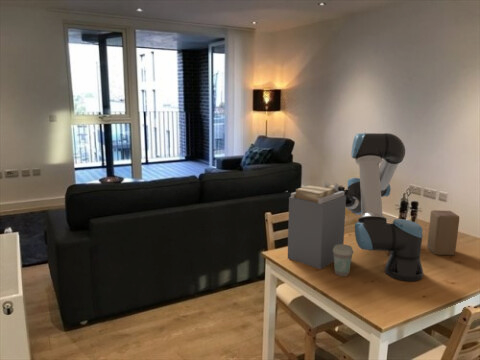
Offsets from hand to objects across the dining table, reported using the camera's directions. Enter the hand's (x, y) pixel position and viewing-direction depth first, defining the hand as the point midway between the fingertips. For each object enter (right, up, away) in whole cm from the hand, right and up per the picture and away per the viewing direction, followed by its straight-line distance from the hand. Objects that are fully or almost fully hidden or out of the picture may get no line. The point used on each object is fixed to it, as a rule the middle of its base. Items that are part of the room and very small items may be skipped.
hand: (329, 184), depth 182 cm
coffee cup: (+1, -38, -17) cm, 42 cm away
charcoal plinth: (-7, -35, 0) cm, 35 cm away
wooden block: (+57, -33, +6) cm, 66 cm away
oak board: (-3, -5, -3) cm, 6 cm away
